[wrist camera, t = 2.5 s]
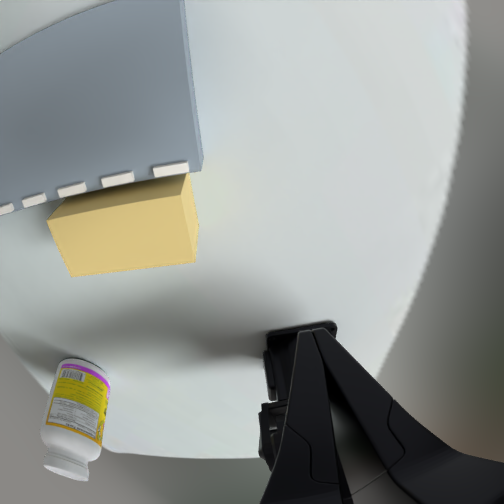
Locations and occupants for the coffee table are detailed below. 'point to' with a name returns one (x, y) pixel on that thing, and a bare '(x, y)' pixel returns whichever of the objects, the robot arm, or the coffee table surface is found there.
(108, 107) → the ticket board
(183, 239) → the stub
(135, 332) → the coffee table surface
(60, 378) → the supplement bottle
